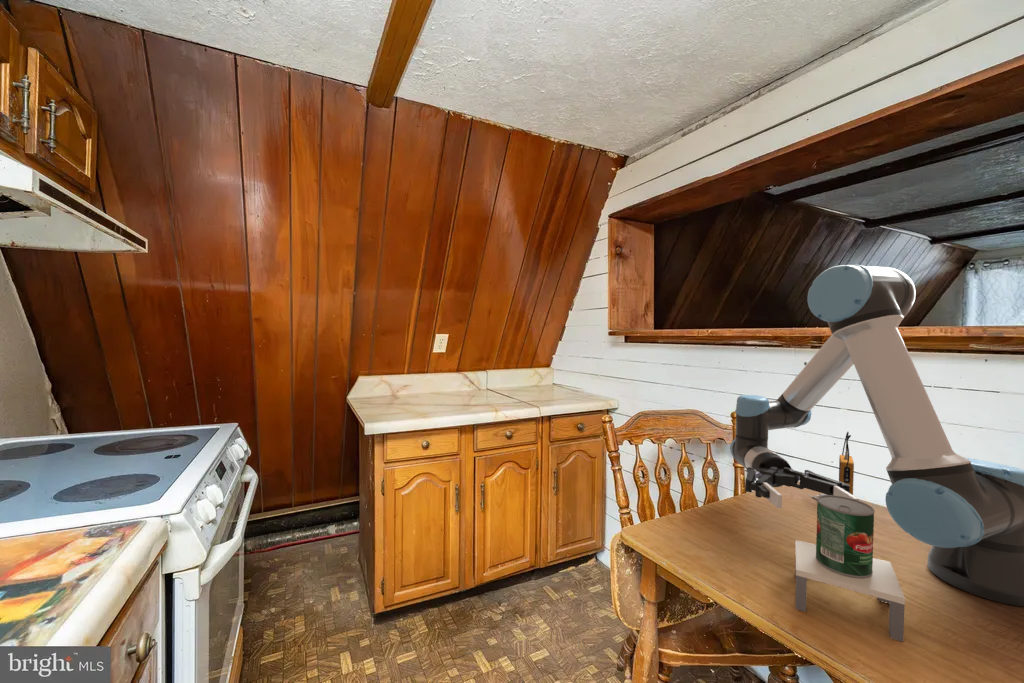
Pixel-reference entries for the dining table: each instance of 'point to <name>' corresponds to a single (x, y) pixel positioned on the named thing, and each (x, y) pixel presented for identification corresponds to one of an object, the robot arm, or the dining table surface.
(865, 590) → the shelf
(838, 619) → the dining table surface
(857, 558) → the canned tomato
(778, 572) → the dining table surface
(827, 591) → the dining table surface
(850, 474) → the multimeter
